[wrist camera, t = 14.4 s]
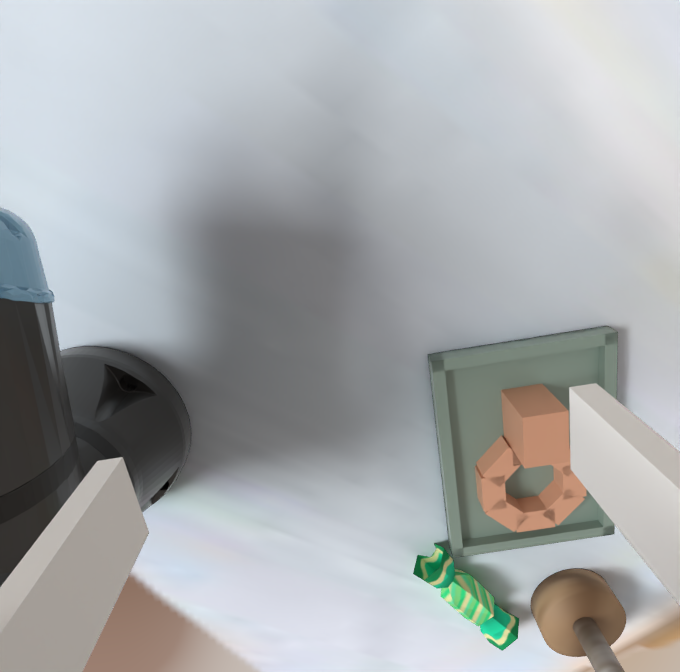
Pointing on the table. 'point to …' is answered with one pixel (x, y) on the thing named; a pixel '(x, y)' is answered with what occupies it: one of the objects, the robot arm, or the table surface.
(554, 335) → the tray
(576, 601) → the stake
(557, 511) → the ring
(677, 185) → the table surface
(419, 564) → the candy
